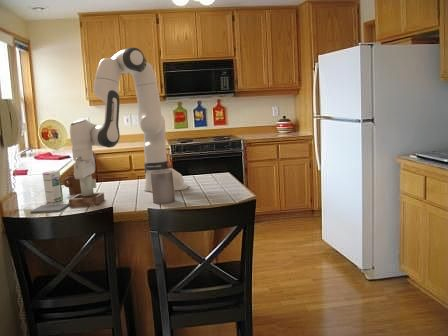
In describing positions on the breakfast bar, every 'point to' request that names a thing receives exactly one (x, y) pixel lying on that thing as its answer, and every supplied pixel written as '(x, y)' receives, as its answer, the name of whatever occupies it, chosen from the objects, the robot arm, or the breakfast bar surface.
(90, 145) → the robot arm
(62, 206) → the charcoal mat
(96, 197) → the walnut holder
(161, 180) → the pillar candle
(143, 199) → the breakfast bar surface
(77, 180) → the mug
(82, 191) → the jug
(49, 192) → the syrup box
